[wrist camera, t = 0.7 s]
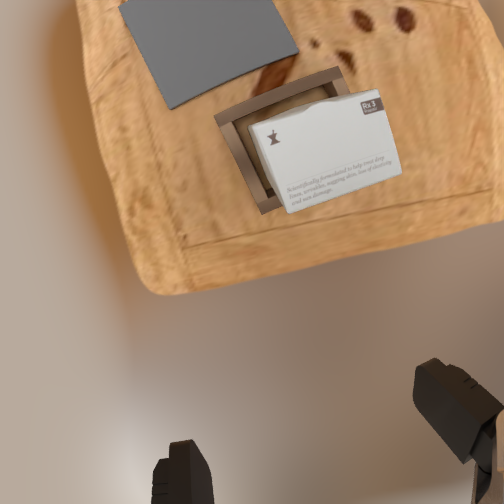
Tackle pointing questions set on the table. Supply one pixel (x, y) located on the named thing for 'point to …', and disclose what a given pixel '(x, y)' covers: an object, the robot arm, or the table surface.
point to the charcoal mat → (205, 41)
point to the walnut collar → (225, 119)
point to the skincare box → (326, 149)
